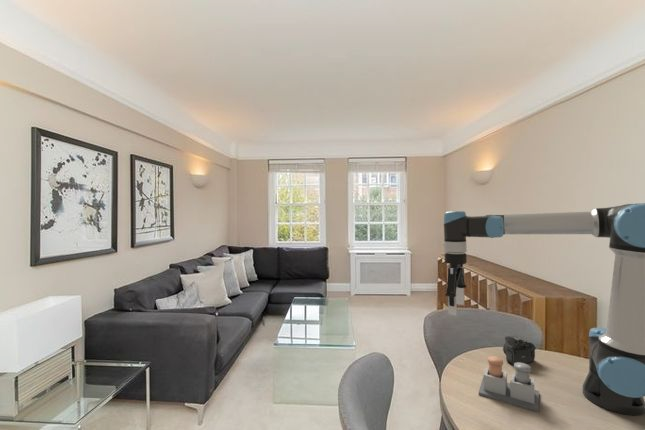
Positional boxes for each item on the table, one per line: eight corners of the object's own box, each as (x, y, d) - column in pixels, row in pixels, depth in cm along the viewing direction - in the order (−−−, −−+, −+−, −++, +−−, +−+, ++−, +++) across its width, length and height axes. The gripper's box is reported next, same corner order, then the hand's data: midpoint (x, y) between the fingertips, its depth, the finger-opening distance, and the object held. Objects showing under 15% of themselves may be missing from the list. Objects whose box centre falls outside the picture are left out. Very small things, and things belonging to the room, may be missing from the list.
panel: (538, 393, 107) (538, 375, 107) (538, 412, 97) (538, 393, 97) (483, 378, 117) (483, 362, 117) (478, 394, 107) (478, 377, 107)
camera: (511, 351, 138) (510, 329, 138) (537, 359, 131) (537, 336, 130) (498, 361, 130) (498, 337, 130) (525, 370, 122) (525, 345, 122)
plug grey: (531, 383, 105) (531, 364, 105) (530, 390, 101) (530, 371, 101) (514, 379, 108) (514, 361, 108) (513, 385, 104) (513, 367, 104)
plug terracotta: (503, 376, 110) (503, 358, 110) (502, 382, 106) (502, 364, 106) (488, 372, 113) (488, 355, 113) (486, 378, 109) (486, 360, 109)
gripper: (452, 248, 129) (453, 299, 129) (436, 256, 108) (437, 317, 108) (472, 249, 124) (473, 302, 125) (459, 257, 104) (460, 321, 104)
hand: (456, 309), depth 117 cm, fingers open, 13 cm apart
